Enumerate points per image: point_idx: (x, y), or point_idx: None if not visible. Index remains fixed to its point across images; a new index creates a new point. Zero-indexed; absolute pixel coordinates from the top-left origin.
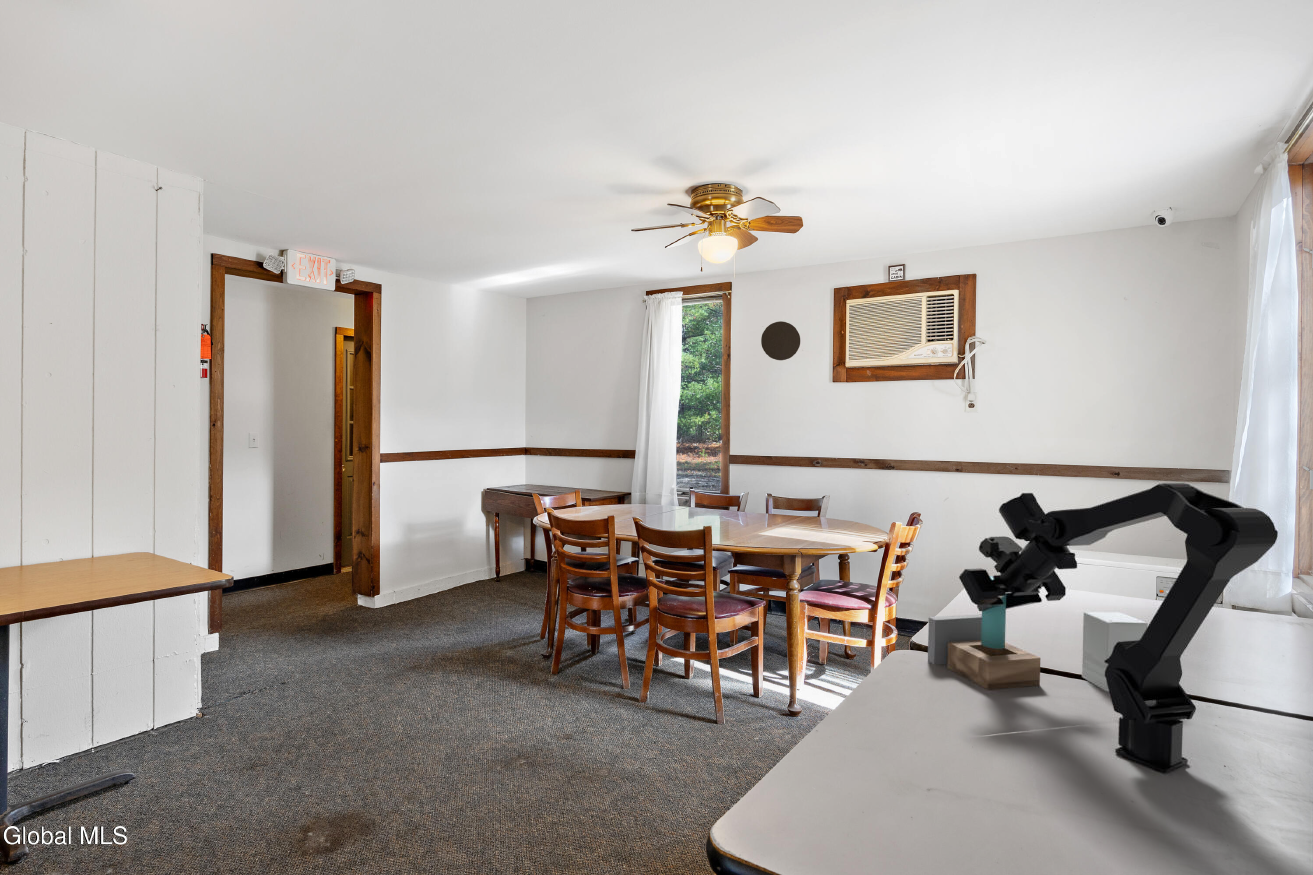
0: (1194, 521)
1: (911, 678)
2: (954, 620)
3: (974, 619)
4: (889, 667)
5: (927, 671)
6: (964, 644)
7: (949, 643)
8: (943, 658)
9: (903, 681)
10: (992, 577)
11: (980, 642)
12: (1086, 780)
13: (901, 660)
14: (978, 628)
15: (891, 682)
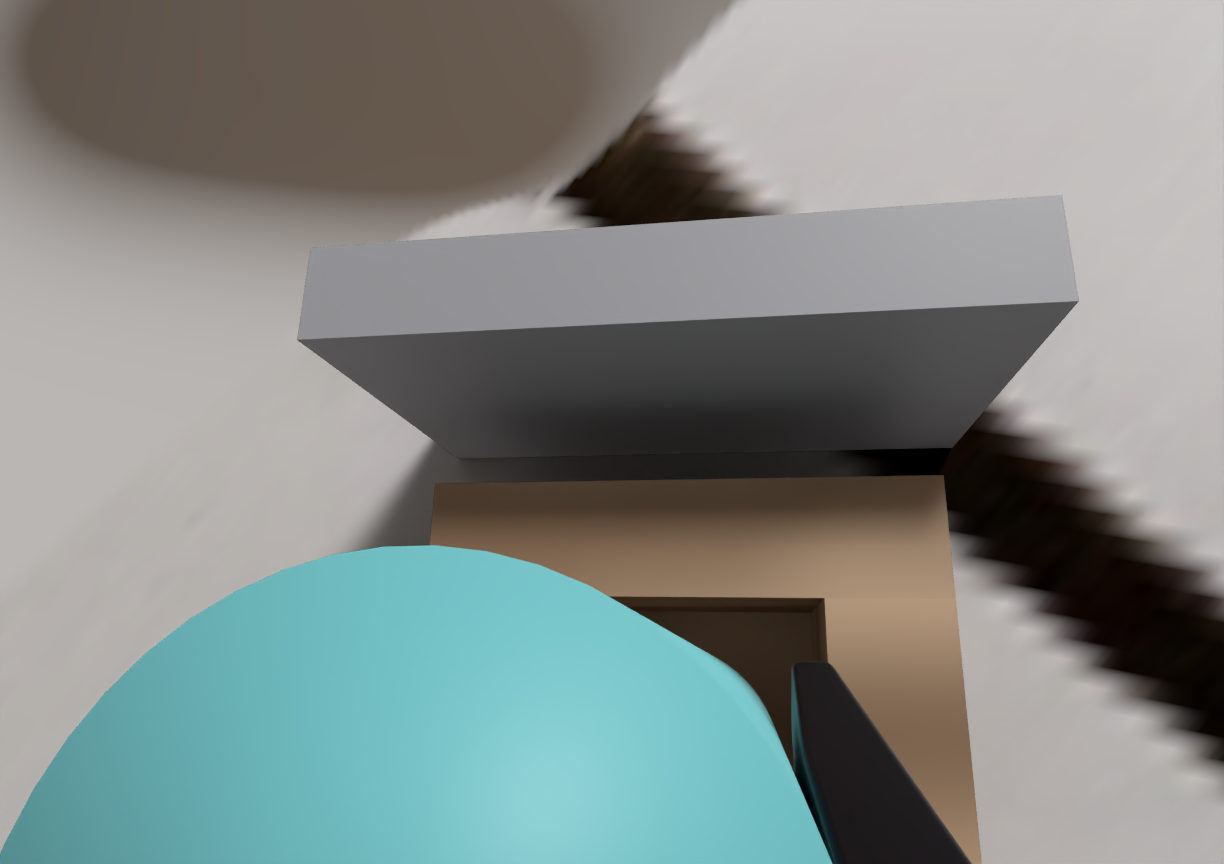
0: None
1: (177, 626)
2: (518, 336)
3: (766, 324)
4: (188, 437)
5: (350, 539)
6: None
7: (433, 504)
8: (512, 445)
9: (101, 660)
10: (494, 756)
11: (708, 541)
12: None
13: None
14: (813, 362)
15: (30, 659)
